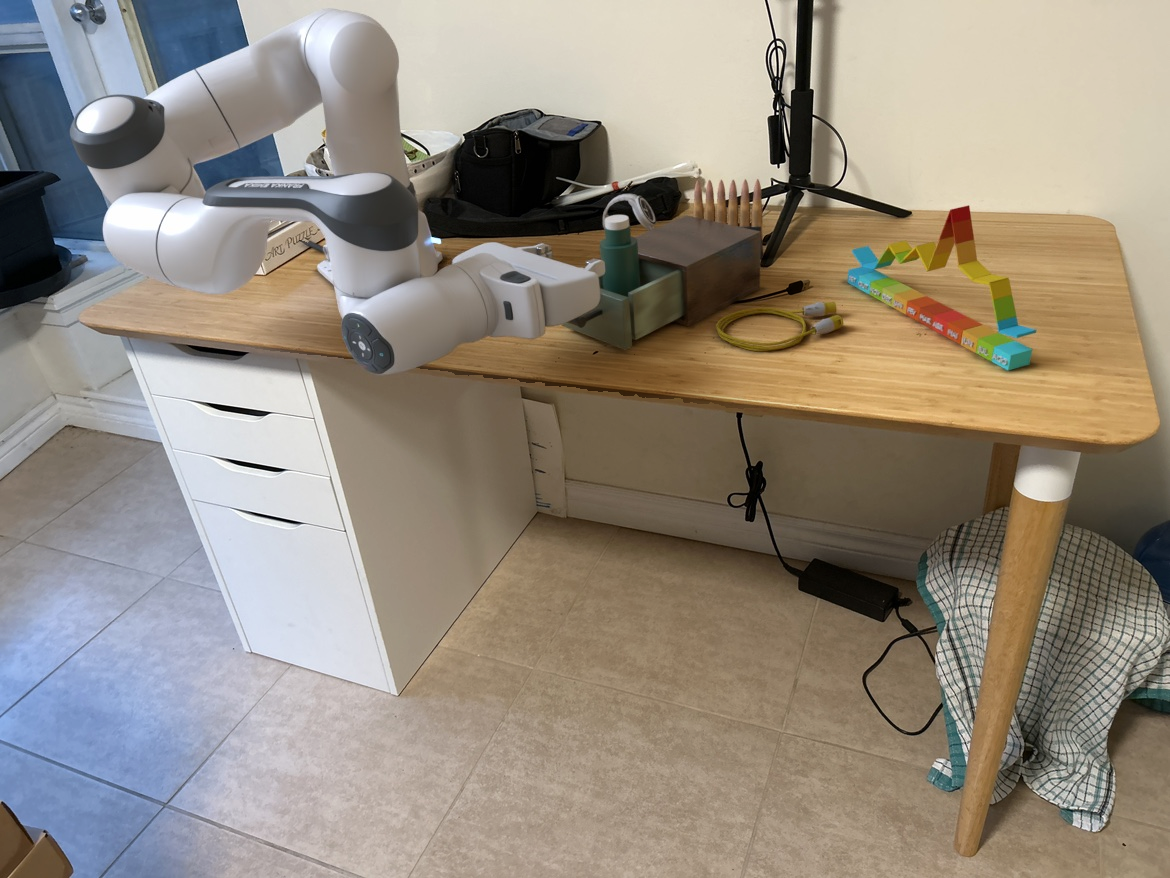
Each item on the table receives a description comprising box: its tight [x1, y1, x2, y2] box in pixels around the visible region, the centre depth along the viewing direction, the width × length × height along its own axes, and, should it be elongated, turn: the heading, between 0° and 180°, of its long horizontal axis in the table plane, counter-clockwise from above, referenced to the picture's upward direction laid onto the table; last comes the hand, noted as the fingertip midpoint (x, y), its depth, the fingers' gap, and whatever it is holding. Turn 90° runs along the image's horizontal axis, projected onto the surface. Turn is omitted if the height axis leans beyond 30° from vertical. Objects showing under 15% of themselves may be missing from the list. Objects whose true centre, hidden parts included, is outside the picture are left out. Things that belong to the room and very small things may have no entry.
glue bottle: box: [599, 214, 640, 297], centre depth 109 cm, size 5×5×13 cm
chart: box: [847, 204, 1037, 371], centre depth 104 cm, size 30×3×15 cm, turn 20°
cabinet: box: [634, 215, 761, 327], centre depth 118 cm, size 15×13×8 cm
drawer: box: [560, 258, 684, 351], centre depth 111 cm, size 19×12×7 cm, turn 133°
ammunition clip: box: [692, 178, 764, 260], centre depth 129 cm, size 11×2×12 cm, turn 75°
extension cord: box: [715, 301, 845, 352], centre depth 108 cm, size 12×16×2 cm
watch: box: [602, 193, 657, 232], centre depth 130 cm, size 6×8×11 cm
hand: (573, 257), depth 103 cm, fingers open, 8 cm apart
